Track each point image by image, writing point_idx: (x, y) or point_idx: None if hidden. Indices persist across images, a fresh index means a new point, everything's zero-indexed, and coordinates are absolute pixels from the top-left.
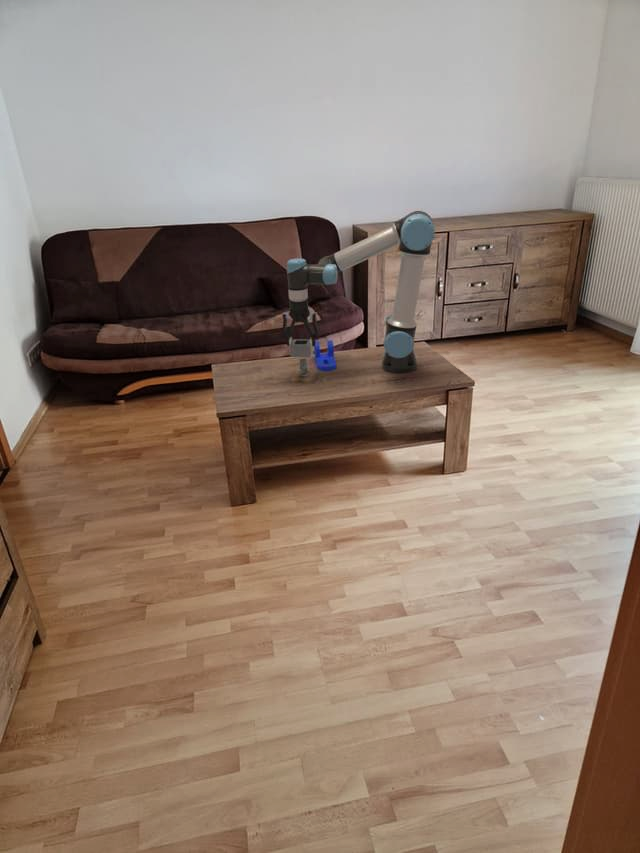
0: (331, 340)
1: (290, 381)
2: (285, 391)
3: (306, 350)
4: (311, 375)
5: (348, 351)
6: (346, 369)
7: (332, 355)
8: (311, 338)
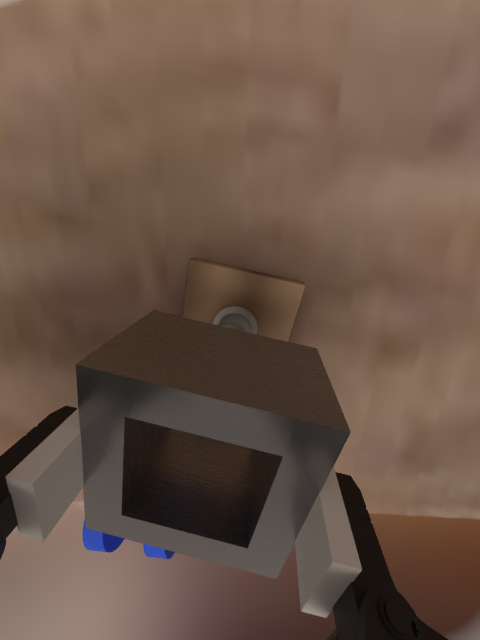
0: (88, 546)
1: (304, 284)
2: (345, 162)
3: (150, 342)
4: (201, 317)
5: None
6: (72, 367)
7: None
8: (22, 509)
